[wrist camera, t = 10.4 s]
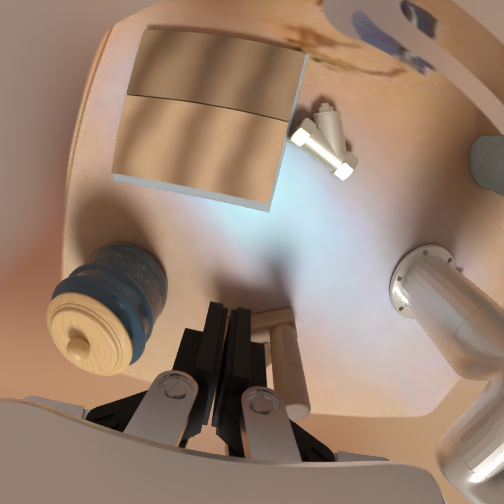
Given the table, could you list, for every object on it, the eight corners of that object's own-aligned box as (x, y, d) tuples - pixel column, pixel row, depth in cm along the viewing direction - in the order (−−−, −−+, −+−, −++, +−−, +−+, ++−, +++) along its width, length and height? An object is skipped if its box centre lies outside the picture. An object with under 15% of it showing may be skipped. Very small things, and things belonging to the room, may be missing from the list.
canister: (90, 233, 39) (15, 288, 22) (173, 248, 40) (125, 321, 23) (93, 308, 43) (40, 379, 27) (167, 326, 44) (134, 412, 28)
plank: (287, 123, 33) (288, 122, 32) (267, 201, 37) (268, 204, 35) (130, 97, 32) (126, 95, 30) (116, 171, 35) (111, 173, 34)
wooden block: (219, 318, 43) (204, 413, 27) (291, 305, 43) (311, 399, 26) (225, 337, 45) (214, 432, 28) (294, 325, 44) (314, 419, 27)
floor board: (303, 56, 30) (305, 53, 29) (287, 122, 33) (289, 121, 32) (148, 33, 29) (144, 29, 27) (131, 95, 32) (126, 94, 30)
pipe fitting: (316, 100, 33) (285, 140, 35) (324, 94, 29) (291, 138, 31) (364, 139, 35) (335, 179, 36) (377, 138, 31) (346, 181, 33)
